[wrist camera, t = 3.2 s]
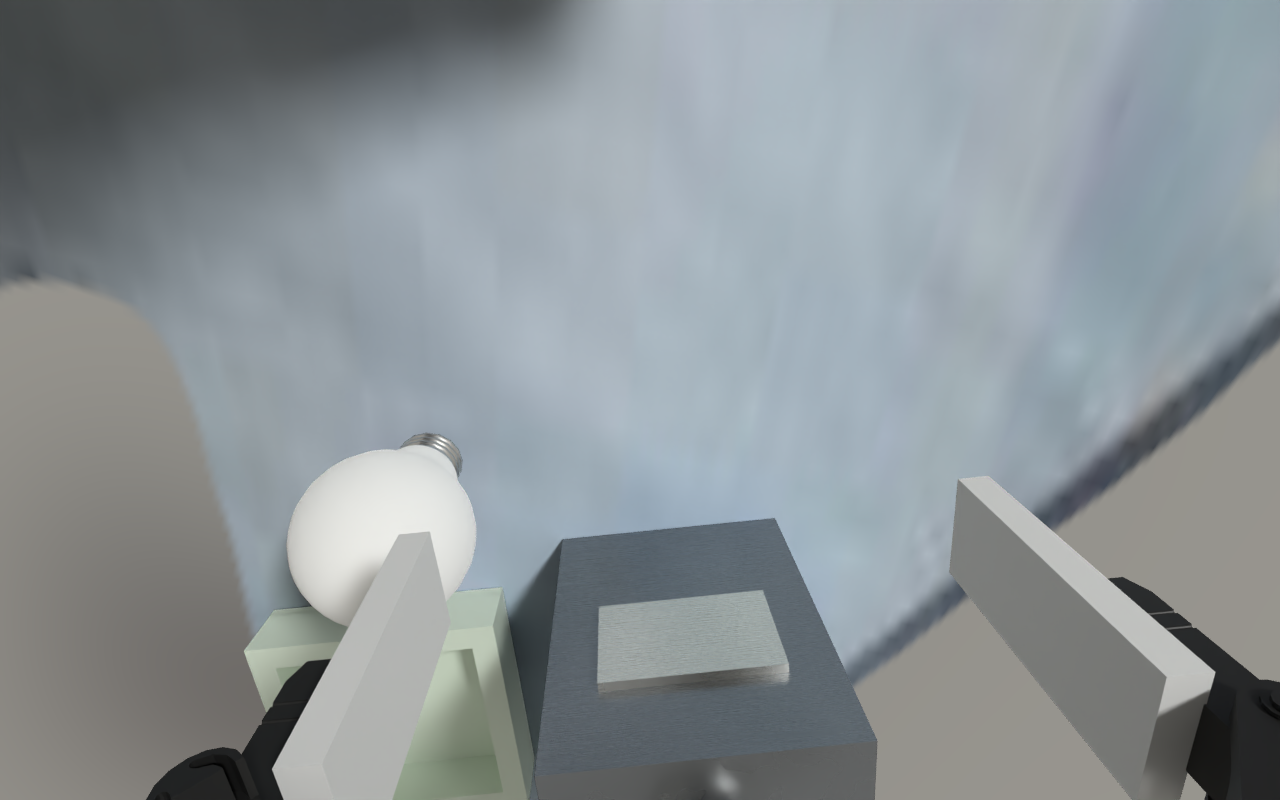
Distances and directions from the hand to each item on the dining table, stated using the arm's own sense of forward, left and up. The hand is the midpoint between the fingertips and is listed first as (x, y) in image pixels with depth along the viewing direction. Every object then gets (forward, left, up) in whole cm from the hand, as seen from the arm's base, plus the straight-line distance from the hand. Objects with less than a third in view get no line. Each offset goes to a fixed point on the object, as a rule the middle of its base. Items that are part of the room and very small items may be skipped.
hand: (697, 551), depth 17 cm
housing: (+13, 0, -16) cm, 21 cm away
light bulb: (+3, -11, -16) cm, 20 cm away
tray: (+17, -15, -16) cm, 28 cm away
